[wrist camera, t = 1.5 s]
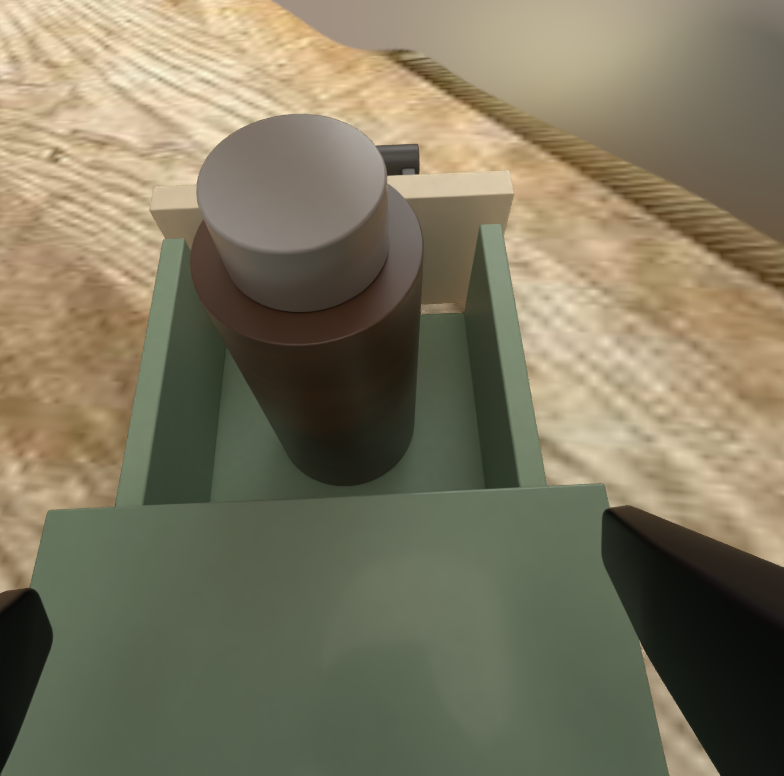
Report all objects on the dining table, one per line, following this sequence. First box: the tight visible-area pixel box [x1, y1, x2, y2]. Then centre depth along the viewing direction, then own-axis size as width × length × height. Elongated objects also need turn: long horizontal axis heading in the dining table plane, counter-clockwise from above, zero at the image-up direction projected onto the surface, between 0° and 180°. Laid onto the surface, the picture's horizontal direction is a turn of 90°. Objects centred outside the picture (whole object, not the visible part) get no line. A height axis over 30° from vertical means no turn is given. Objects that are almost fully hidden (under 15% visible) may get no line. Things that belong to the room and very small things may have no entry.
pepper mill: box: [190, 114, 424, 486], centre depth 16 cm, size 5×5×12 cm
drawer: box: [115, 144, 547, 507], centre depth 21 cm, size 18×13×7 cm
